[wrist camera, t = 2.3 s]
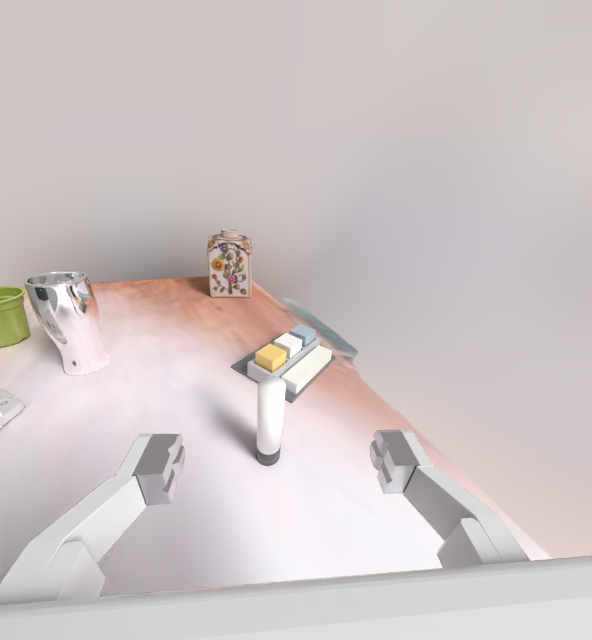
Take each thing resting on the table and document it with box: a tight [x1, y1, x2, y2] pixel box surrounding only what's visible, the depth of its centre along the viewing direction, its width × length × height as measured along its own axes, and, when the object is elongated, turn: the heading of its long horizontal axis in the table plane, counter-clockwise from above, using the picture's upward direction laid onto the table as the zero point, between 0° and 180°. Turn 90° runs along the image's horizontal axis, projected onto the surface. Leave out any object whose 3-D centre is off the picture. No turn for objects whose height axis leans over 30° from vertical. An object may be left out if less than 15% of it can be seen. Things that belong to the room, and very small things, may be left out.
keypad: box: [232, 334, 335, 403], centre depth 45 cm, size 13×15×3 cm
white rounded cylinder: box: [257, 376, 286, 466], centre depth 27 cm, size 3×3×11 cm
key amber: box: [255, 344, 287, 373], centre depth 41 cm, size 4×4×3 cm
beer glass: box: [24, 271, 111, 375], centre depth 38 cm, size 7×7×15 cm
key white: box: [274, 333, 302, 359], centre depth 45 cm, size 4×4×3 cm
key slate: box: [290, 324, 316, 347], centre depth 48 cm, size 4×4×3 cm
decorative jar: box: [207, 228, 252, 298], centre depth 72 cm, size 12×12×18 cm
